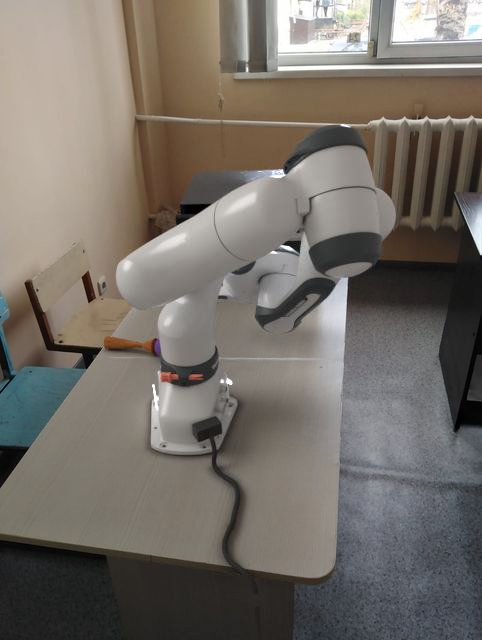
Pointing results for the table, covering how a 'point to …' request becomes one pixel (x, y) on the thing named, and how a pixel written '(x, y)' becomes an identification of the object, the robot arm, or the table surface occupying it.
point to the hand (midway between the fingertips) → (250, 300)
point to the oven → (217, 187)
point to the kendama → (133, 344)
